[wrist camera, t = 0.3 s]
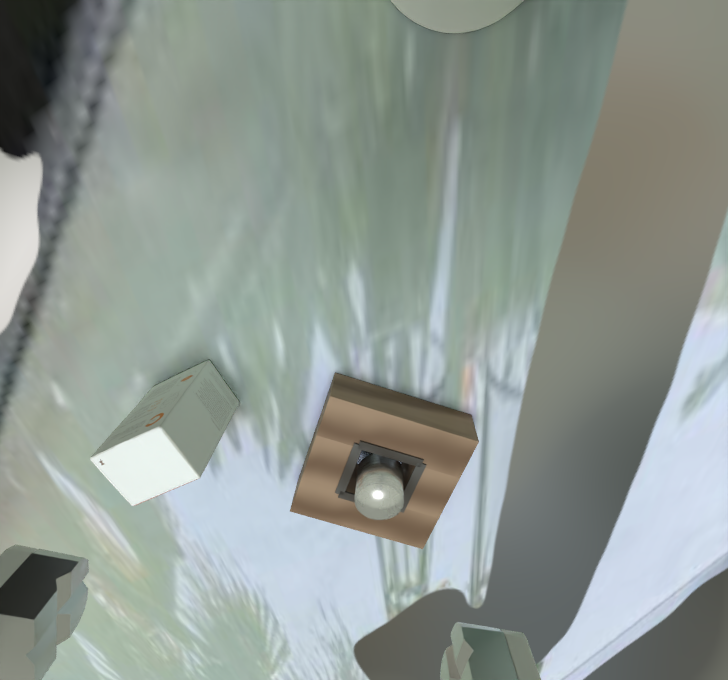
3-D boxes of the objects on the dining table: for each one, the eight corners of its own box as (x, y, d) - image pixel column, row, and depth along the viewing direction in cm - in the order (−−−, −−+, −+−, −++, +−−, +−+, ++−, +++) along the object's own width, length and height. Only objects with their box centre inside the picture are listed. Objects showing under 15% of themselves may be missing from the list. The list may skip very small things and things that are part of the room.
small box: (185, 428, 57) (130, 508, 45) (152, 385, 55) (85, 458, 43) (242, 402, 55) (201, 479, 43) (210, 357, 53) (158, 425, 41)
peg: (365, 448, 52) (363, 476, 48) (409, 461, 52) (410, 490, 48) (351, 482, 54) (348, 513, 50) (393, 495, 54) (394, 526, 50)
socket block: (334, 372, 53) (329, 397, 48) (471, 414, 54) (479, 442, 49) (297, 481, 59) (289, 512, 54) (420, 516, 61) (422, 550, 56)
